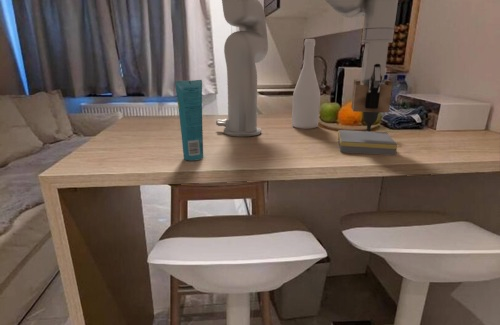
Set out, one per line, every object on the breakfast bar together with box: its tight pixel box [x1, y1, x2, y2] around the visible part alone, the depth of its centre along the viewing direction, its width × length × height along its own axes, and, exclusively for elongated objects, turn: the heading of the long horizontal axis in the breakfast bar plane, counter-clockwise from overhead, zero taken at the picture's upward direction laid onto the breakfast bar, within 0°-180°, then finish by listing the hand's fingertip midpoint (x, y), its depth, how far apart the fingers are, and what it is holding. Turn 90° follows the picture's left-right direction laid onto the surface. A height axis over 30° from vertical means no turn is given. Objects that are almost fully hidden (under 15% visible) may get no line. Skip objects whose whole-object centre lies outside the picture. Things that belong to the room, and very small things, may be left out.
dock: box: [337, 129, 398, 156], centre depth 93 cm, size 14×14×3 cm
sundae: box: [362, 112, 380, 132], centre depth 104 cm, size 7×7×15 cm
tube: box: [174, 79, 204, 162], centre depth 79 cm, size 7×5×19 cm, turn 140°
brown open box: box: [350, 78, 394, 114], centre depth 89 cm, size 9×6×8 cm
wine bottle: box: [291, 38, 321, 130], centre depth 114 cm, size 10×10×30 cm
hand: (369, 105), depth 90 cm, fingers closed on brown open box, 6 cm apart
